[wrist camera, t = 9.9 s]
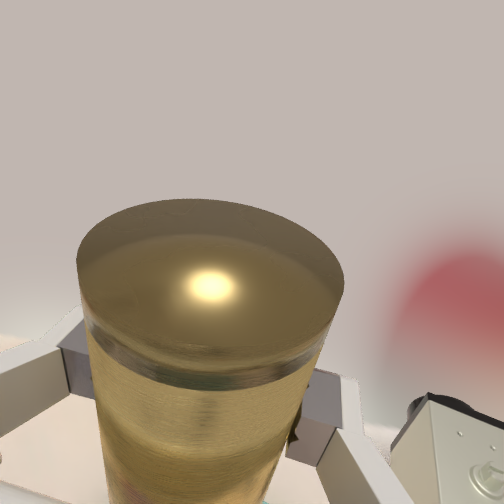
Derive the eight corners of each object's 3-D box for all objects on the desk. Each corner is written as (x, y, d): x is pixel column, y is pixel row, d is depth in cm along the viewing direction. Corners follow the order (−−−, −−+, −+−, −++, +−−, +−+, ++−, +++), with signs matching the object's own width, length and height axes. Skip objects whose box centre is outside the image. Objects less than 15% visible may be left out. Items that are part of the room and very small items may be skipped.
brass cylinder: (86, 572, 12) (-2, 265, 5) (166, 445, 16) (179, 183, 9) (208, 657, 11) (315, 407, 4) (260, 496, 15) (356, 238, 8)
